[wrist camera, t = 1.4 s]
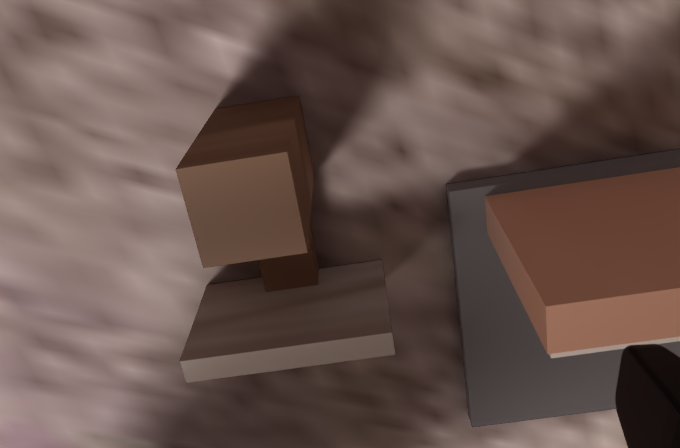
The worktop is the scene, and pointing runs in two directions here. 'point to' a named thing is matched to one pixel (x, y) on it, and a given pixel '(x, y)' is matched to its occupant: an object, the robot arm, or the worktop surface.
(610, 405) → the slate mat
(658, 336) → the glazed tile
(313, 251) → the walnut turner
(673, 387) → the robot arm
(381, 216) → the worktop surface
